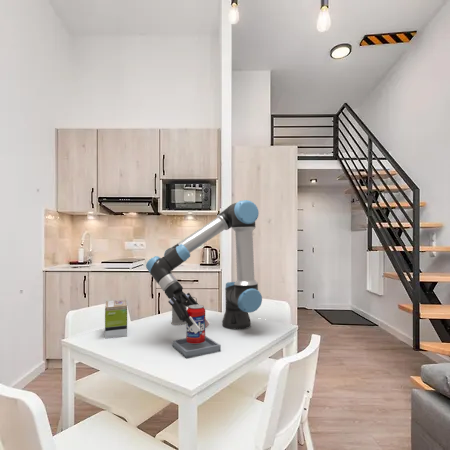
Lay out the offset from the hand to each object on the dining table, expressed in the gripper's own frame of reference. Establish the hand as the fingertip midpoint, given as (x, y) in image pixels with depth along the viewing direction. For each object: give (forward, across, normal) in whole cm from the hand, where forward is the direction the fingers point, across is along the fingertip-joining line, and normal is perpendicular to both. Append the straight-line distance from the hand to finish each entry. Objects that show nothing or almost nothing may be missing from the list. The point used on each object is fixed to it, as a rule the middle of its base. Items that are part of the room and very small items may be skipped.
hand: (203, 328), depth 123 cm
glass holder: (-15, -32, -27) cm, 45 cm away
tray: (+4, 0, -8) cm, 9 cm away
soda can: (+2, 0, -7) cm, 7 cm away
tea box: (-29, -2, -42) cm, 50 cm away
